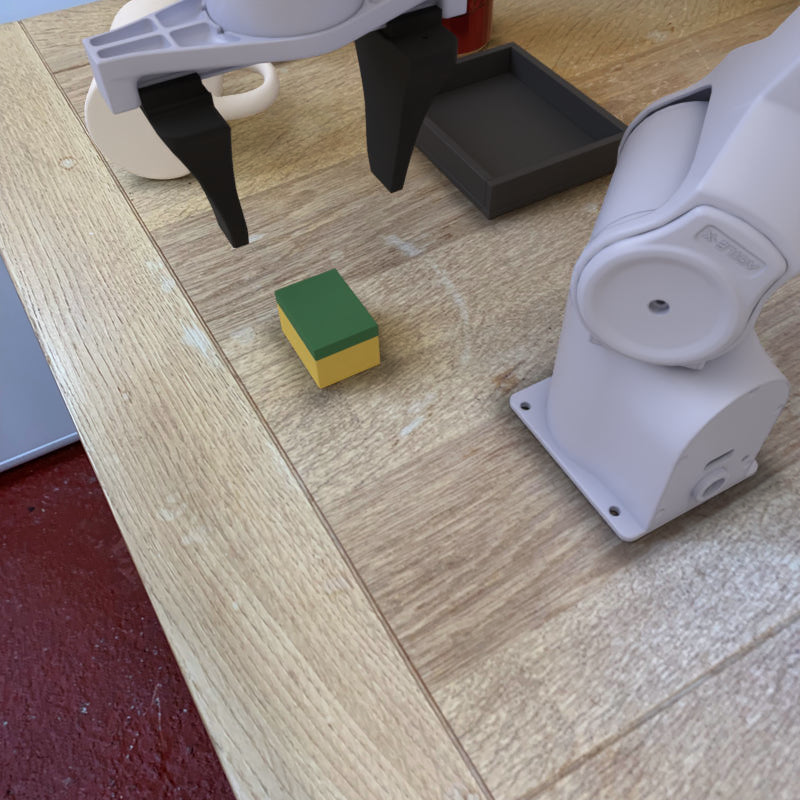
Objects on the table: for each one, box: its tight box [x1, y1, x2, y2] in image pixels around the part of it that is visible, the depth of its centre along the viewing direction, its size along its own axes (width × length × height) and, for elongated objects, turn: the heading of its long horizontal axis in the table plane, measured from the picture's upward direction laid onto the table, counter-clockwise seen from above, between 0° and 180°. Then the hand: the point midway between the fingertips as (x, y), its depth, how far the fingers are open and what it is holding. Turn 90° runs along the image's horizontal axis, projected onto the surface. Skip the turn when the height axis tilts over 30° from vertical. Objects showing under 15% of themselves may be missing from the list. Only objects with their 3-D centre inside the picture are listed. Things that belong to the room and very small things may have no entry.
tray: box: [414, 41, 629, 220], centre depth 55 cm, size 14×11×2 cm
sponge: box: [274, 267, 381, 390], centre depth 42 cm, size 5×4×3 cm
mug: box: [83, 0, 281, 180], centre depth 53 cm, size 12×10×8 cm
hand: (312, 206), depth 36 cm, fingers open, 7 cm apart
